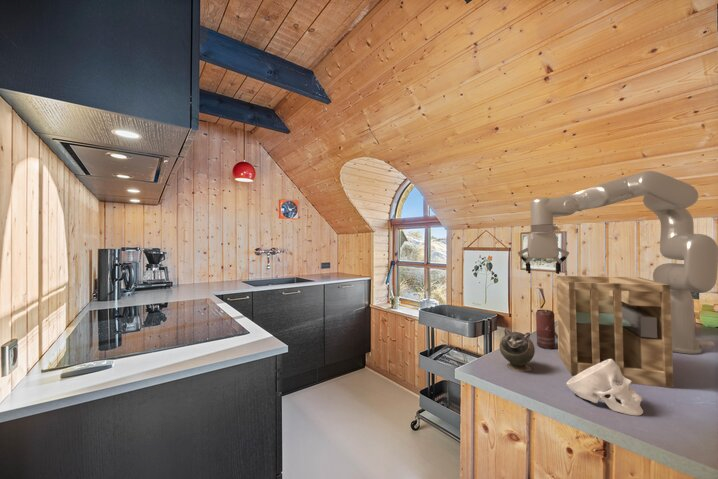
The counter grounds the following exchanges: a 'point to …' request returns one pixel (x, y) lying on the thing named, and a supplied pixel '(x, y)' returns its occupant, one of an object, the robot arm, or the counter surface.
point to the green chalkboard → (626, 321)
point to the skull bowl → (607, 387)
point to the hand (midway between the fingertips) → (543, 273)
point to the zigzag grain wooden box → (615, 327)
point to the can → (545, 329)
